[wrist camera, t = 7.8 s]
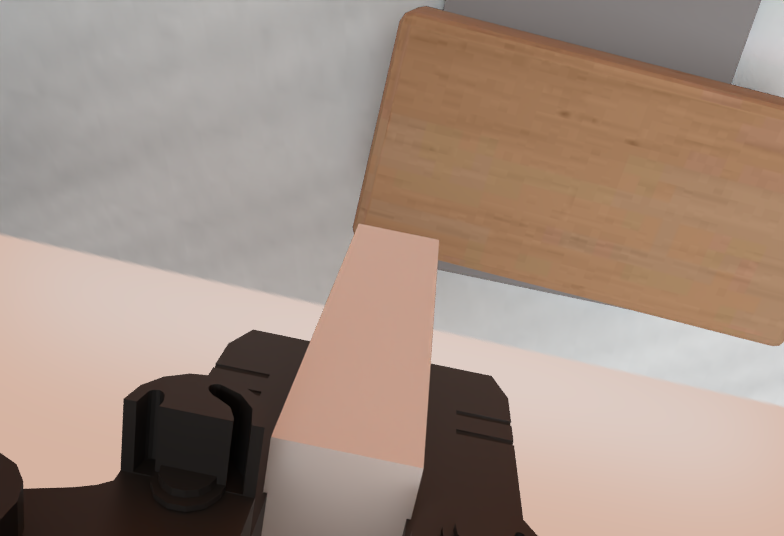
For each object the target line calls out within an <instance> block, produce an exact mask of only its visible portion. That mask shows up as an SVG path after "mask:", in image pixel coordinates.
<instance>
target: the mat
mask: <svg viewBox="0 0 784 536" xmlns="http://www.w3.org/2000/svg"><path fill="white" fill-rule="evenodd" d="M760 2H761V0H445V4H444V9H443V11H447V12H451V13H455V14H459V15H462V16H466V17H470V18H474V19H478V20H482V21H486V22H490V23H494V24H498V25H501V26H505V27H509V28H513V29H517V30H521V31H525V32H529V33H533V34H537V35H540V36H544V37H548V38H552V39H556V40H560V41H564V42H568V43H572V44H576V45H579V46H583V47H587V48H591V49H595V50H599V51H603V52H607V53H611V54H615V55H618V56H622V57H626V58H630V59H634V60H638V61H642V62H646V63H650V64H653V65H657V66H661V67H665V68H669V69H673V70H677V71H681V72H685V73H689V74H692V75H696V76H700V77H704V78H708V79H712V80H716V81H720V82H724V83H728V84H731V82H732V79H733V77H734V74H735V71H736V68H737V66H738V63H739V60H740V57H741V55H742V52H743V49H744V46H745V43H746V41H747V38H748V35H749V32H750V30H751V27H752V24H753V21H754V19H755V16H756V13H757V10H758V8H759V5H760ZM437 269H438V270H443V271H447V272H452V273H457V274H462V275H467V276H471V277H476V278H481V279H486V280H491V281H495V282H500V283H505V284H510V285H515V286H519V287H524V288H529V289H534V290H539V291H543V292H548V293H553V294H558V295H563V296H567V297H572V298H577V299H582V300H587V301H591V302H596V303H601V304H606V305H611V304H607V303H603V302H599V301H595V300H591V299H588V298H584V297H580V296H576V295H572V294H568V293H564V292H560V291H556V290H552V289H549V288H545V287H541V286H537V285H533V284H529V283H525V282H521V281H517V280H514V279H510V278H506V277H502V276H498V275H494V274H490V273H486V272H482V271H479V270H475V269H471V268H467V267H463V266H459V265H455V264H451V263H447V262H444V261H440V260H438V264H437ZM611 306H615V305H611ZM615 307H619V306H615ZM620 308H623V307H620ZM625 309H626V308H625Z"/></svg>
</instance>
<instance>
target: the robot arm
mask: <svg viewBox="0 0 784 536" xmlns="http://www.w3.org/2000/svg"><path fill="white" fill-rule="evenodd" d="M438 249H439V240H437V239H432V238H427V237H422V236H418V235H413V234H408V233H403V232H398V231H393V230H388V229H383V228H378V227H373V226H368V225H364V224H358V227H357V229H356V231H355V234H354V236H353V239H352V241H351V244H350V246H349V249H348V251H347V253H346V256H345V258H344V261H343V263H342V266H341V268H340V270H339V273H338V275H337V278H336V280H335V283H334V285H333V287H332V290H331V292H330V295H329V297H328V300H327V302H326V304H325V307H324V309H323V312H322V314H321V317H320V319H319V322H318V324H317V326H316V329H315V331H314V334H313V336H312V339H311V341H305V340H301V339H296V338H291V337H286V336H281V335H277V334H272V333H266V332H262V331H257V330H252V331H250V332H248V333H246V334H245V335H243V336H241V337H239V338H238V339H236V340H234V341H232V342H231V343H229V344H228V346H227V347H226V348H225V350H224V352H223V353H222V355H221V356H220V358H219V360H218V361H217V363H216V366H215V368H214V367H213V369H212V370H211V372H210V373H209V375H199V374H183V375H175V376H166V377H162V378H159V379H157V380H154V381H151V382H149V383H146V384H143V385H140V386H139V387H138V388H137V389H135V390H134V391H133V392H132V393H130V394H129V395H128V396H127V397H126V398H124V405H123V430H122V453H121V471H120V472H119V474H118V475H117V477H116V478H115V480H114V481H110V482H106V483H102V484H99V485H91V486H82V487H69V488H39V489H38V488H37V489H23V480H22V477H21V475H20V472H19V470H18V467H17V465H16V464H15V463H14V462H12V461H11V460H10V459H8V458H7V457H5V456H4V455H2V454H1V453H0V536H537V535H536V534H535V532H534V531H533V530H532V529H531V528H530V527H529V526H528V525H527V523H526V522H525V521H524V520H523V515H522V507H521V499H520V491H519V483H518V475H517V467H516V459H515V451H514V446H513V435H512V427H511V426H510V423H511V419H510V411H509V403H508V398H507V396H506V395H505V394H504V393H503V391H502V390H501V388H500V387H499V386H498V385H497V383H496V382H495V380H494V379H493V377H492V376H489V375H483V374H479V373H473V372H469V371H464V370H459V369H453V368H450V367H445V366H439V365H435V364H431V352H432V337H433V322H434V308H435V293H436V279H437V264H438Z"/></svg>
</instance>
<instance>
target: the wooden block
mask: <svg viewBox="0 0 784 536" xmlns="http://www.w3.org/2000/svg"><path fill="white" fill-rule="evenodd" d="M358 224H364V225H368V226H373V227H378V228H383V229H388V230H393V231H398V232H403V233H408V234H413V235H418V236H422V237H427V238H432V239H437V240H439V249H438V260H440V261H444V262H447V263H451V264H455V265H459V266H463V267H467V268H471V269H475V270H479V271H482V272H486V273H490V274H494V275H498V276H502V277H506V278H510V279H514V280H517V281H521V282H525V283H529V284H533V285H537V286H541V287H545V288H549V289H552V290H556V291H560V292H564V293H568V294H572V295H576V296H580V297H584V298H588V299H591V300H595V301H599V302H603V303H607V304H611V305H615V306H619V307H623V308H626V309H630V310H634V311H638V312H642V313H646V314H650V315H654V316H658V317H661V318H665V319H669V320H673V321H677V322H681V323H685V324H689V325H693V326H696V327H700V328H704V329H708V330H712V331H716V332H720V333H724V334H728V335H731V336H735V337H739V338H743V339H747V340H751V341H755V342H759V343H763V344H767V345H771V346H779V345H780V344H782V343H783V342H784V98H782V97H778V96H774V95H770V94H767V93H763V92H759V91H755V90H751V89H747V88H743V87H739V86H735V85H731V84H728V83H724V82H720V81H716V80H712V79H708V78H704V77H700V76H696V75H692V74H689V73H685V72H681V71H677V70H673V69H669V68H665V67H661V66H657V65H653V64H650V63H646V62H642V61H638V60H634V59H630V58H626V57H622V56H618V55H615V54H611V53H607V52H603V51H599V50H595V49H591V48H587V47H583V46H579V45H576V44H572V43H568V42H564V41H560V40H556V39H552V38H548V37H544V36H540V35H537V34H533V33H529V32H525V31H521V30H517V29H513V28H509V27H505V26H501V25H498V24H494V23H490V22H486V21H482V20H478V19H474V18H470V17H466V16H462V15H459V14H455V13H451V12H447V11H443V10H439V9H435V8H431V7H427V6H424V7H419V8H416V9H414V10H412V11H409V12H407V13H405V14H404V16H403V17H402V19H401V20H400V22H399V26H398V31H397V35H396V39H395V44H394V48H393V53H392V57H391V61H390V66H389V70H388V75H387V79H386V83H385V88H384V92H383V97H382V101H381V105H380V110H379V114H378V119H377V123H376V127H375V132H374V136H373V141H372V145H371V149H370V154H369V158H368V163H367V167H366V171H365V176H364V180H363V185H362V189H361V193H360V198H359V202H358V207H357V211H356V215H355V220H354V224H353V231H354V234H355V231H356V229H357V227H358Z"/></svg>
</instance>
